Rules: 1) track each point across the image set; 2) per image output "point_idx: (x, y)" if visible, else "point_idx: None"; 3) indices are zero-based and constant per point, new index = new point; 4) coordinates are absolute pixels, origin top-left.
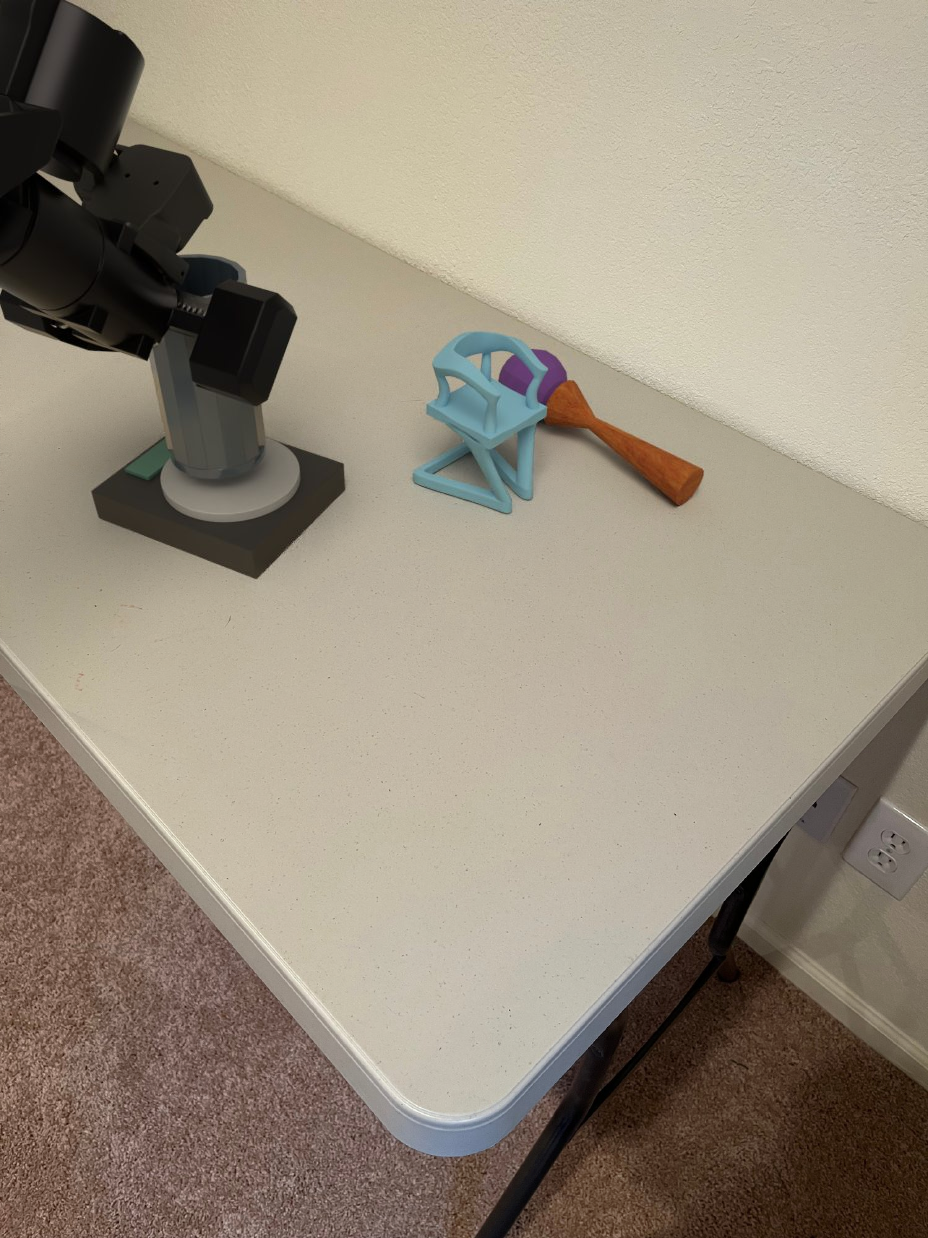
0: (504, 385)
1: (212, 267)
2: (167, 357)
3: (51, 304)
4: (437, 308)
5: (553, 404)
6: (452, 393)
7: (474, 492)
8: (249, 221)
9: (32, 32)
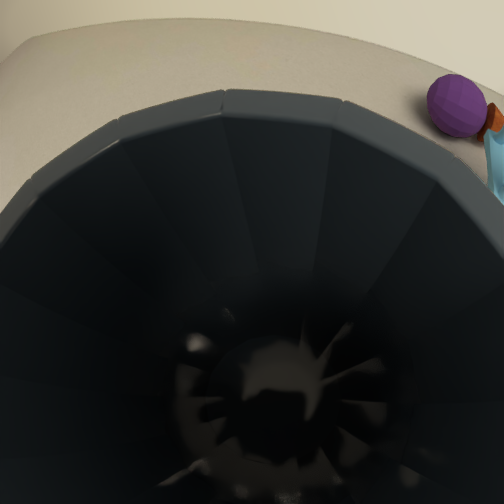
0: (451, 115)
1: (196, 158)
2: None
3: None
4: (286, 42)
5: (495, 130)
6: (494, 169)
7: None
8: (106, 41)
9: None
